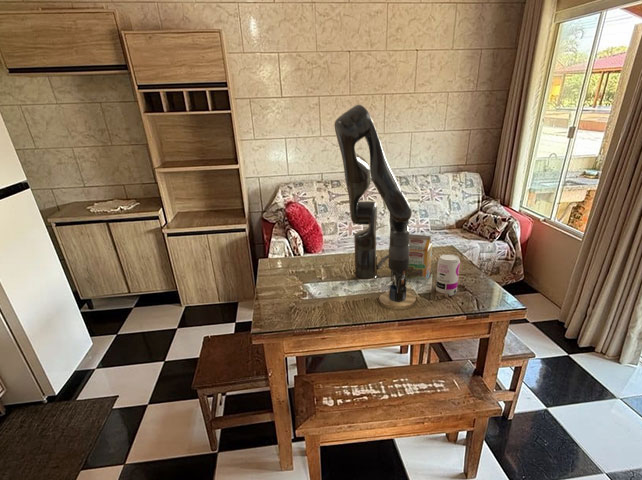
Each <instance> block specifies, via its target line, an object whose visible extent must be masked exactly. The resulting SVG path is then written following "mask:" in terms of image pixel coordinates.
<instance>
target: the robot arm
mask: <svg viewBox="0 0 642 480" xmlns="http://www.w3.org/2000/svg"><path fill="white" fill-rule="evenodd" d="M376 128H377V127H376V125H375V123H374V120H373V118H372V116H371V114H370V112H369V111H368V110H367V108H366V107H364V105H362V104H356V105H353V106H352V107H350V108H349V109H348V110H346V111H345V112H343V113H341V115H339V116H338V117H337V118H336V119H335V121H334V131H335V136H336V140H337V143H338V148H339V151H340V154H341V160H342V166H343V173H344V180H345V184H346V189H347V190H346V191H347V194H348V195H347V196H348V205H349V216H350V221H351V223H352V224H353V225H362V226H363V225H364V226H367V227H366V228H364V229H362V230H359V231H356V233H354V236H353V237H354V239H353V240H354V241H353V243H354V244H353V245H354V278H357V279H361V280H370V279H377V277H378V269H380V267H381V265H382V263H383V262H384V261H385V260H386V259H387V258H388V266H387V267H388V269H389V270H390V282H391V285H392V284H395V286H396V288H397V301H398V302H400V301H403V293H405V287H406V286H407V279H406V278H405V275H404V274H403V272H404V271H405V270H407V269H408V268H409V234H410V228H409V222H410V219H411V217H412V214H413V210H412V207H411V206H410V204H409V202H408V200H407V199H406V197H405V195H404V193H403V192H402V190H401V187H400V184H399V183H398V181H397V178H396V177H395V175H394V173H393V171H392V169H391V167H390V165H389V162H388V159H387V157H386V155H385V154H386V153H385V152H384V148H383V146H382V142H381V140H380V137H379V134H378V131H377V129H376ZM363 138H364V139H365V141H366V143H367V147H368V151H369V163H368V161H367V160H366V159H365V158H364V157H363V156H361V155H359V154H358V153H357V152H356V148H355V147H356V144H357V143H358V142H359V141H361V140H363ZM371 182H372V183H373V185H374V187H375V188H376V191H377V192H378V194H379V196H380V197H381V198H382V200H383V201H384V204H385V205H386V206H385V207H386V208H387V210H388V212H389V226H390V230H389V246H388V254H387V255H386V256H384V257H383V258H382V259H381V260H380V262H379V264H378V256H377V219H378V205H377V203H376V201H373V200H369V201H368V200H362V201H361V200H360V199H361V198H362V197H363V195H364V194H365V193H366V192H367V191H368V189H369V187H370V185H371ZM400 288H402V289H400Z"/></svg>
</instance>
